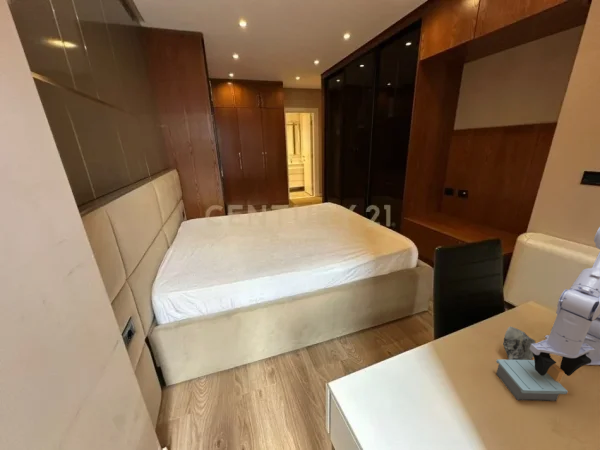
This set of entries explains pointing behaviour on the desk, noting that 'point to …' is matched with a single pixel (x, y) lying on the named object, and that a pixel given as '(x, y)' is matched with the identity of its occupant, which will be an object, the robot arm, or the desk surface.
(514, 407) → the desk surface
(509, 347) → the stone
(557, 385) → the lid
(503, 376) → the tub
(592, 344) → the robot arm
